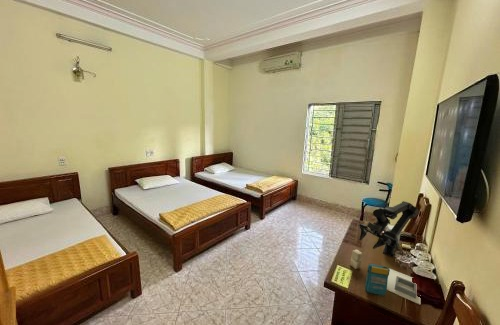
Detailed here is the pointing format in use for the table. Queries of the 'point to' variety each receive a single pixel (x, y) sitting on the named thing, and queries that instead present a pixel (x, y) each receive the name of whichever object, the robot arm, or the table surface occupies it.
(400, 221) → the robot arm
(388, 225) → the supplement box
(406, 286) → the pocket board
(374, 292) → the handheld gaming console
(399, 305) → the table surface
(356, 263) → the birch post
